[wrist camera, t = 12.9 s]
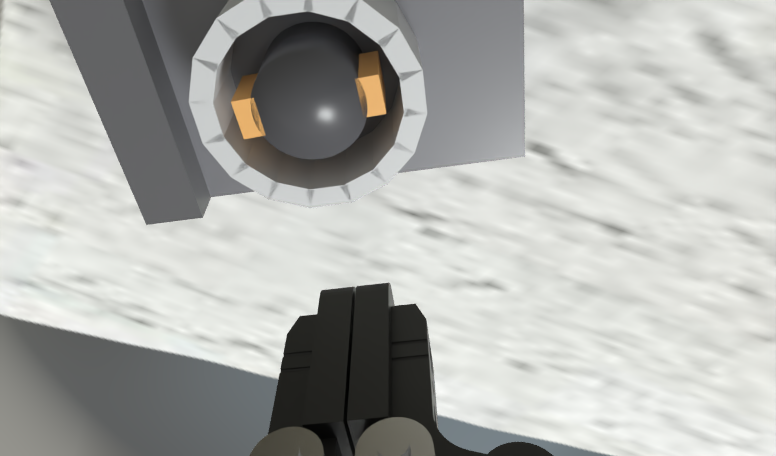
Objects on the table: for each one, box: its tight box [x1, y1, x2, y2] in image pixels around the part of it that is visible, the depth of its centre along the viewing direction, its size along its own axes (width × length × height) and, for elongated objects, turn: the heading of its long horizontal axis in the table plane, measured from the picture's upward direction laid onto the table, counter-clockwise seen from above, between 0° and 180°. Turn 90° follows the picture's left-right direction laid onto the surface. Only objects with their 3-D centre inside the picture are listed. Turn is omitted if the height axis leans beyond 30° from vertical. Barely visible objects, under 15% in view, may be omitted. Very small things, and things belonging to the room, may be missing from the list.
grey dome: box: [231, 22, 386, 159], centre depth 28 cm, size 6×5×4 cm
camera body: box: [50, 0, 525, 225], centre depth 31 cm, size 20×12×11 cm, turn 98°
